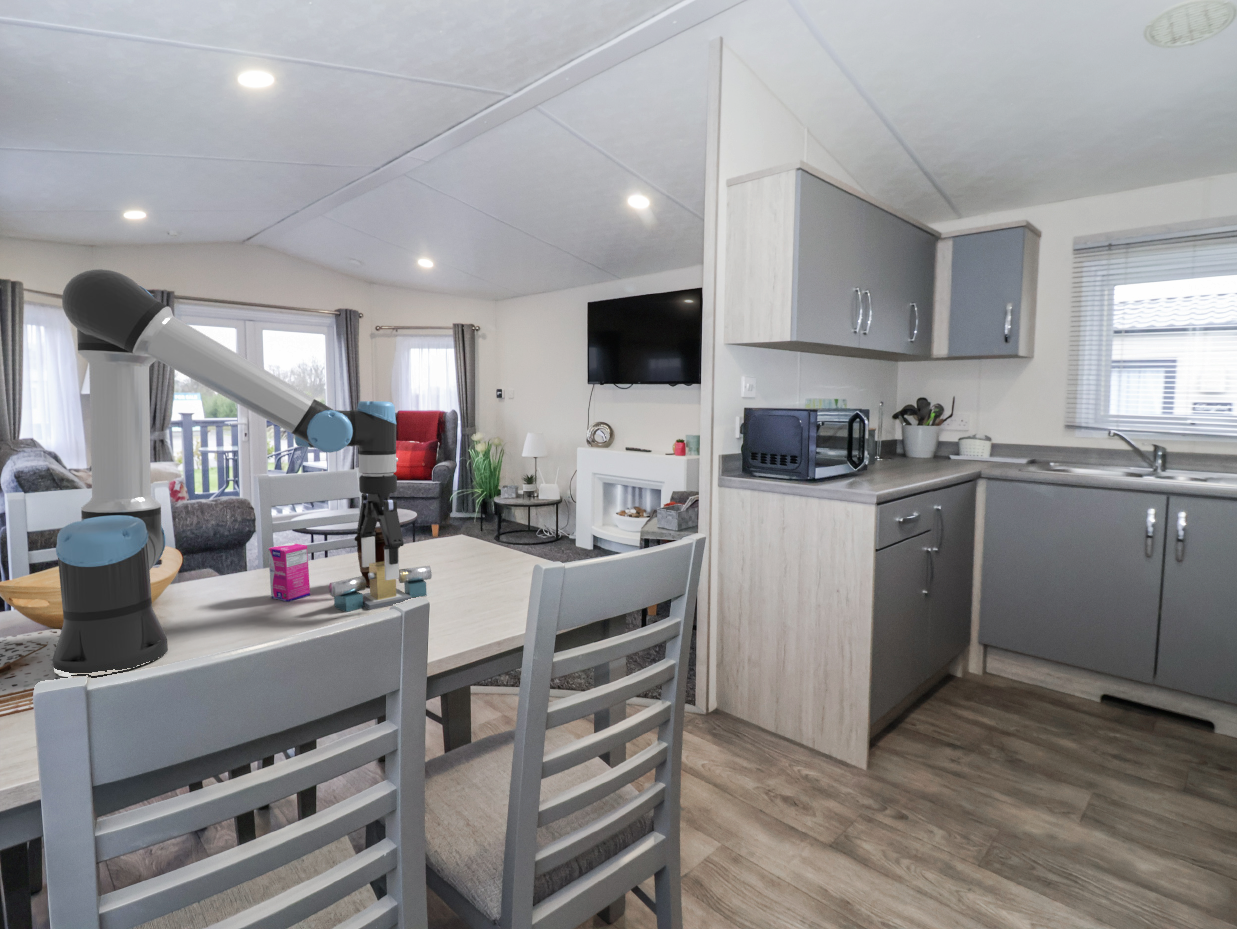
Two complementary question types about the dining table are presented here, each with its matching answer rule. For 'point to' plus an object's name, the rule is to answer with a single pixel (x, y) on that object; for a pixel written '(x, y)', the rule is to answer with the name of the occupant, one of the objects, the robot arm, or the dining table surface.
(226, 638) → the dining table surface
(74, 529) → the robot arm
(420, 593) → the shaft
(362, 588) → the shaft
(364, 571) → the coffee cup
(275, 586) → the supplement box
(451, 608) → the dining table surface
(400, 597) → the cradle
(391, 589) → the block
